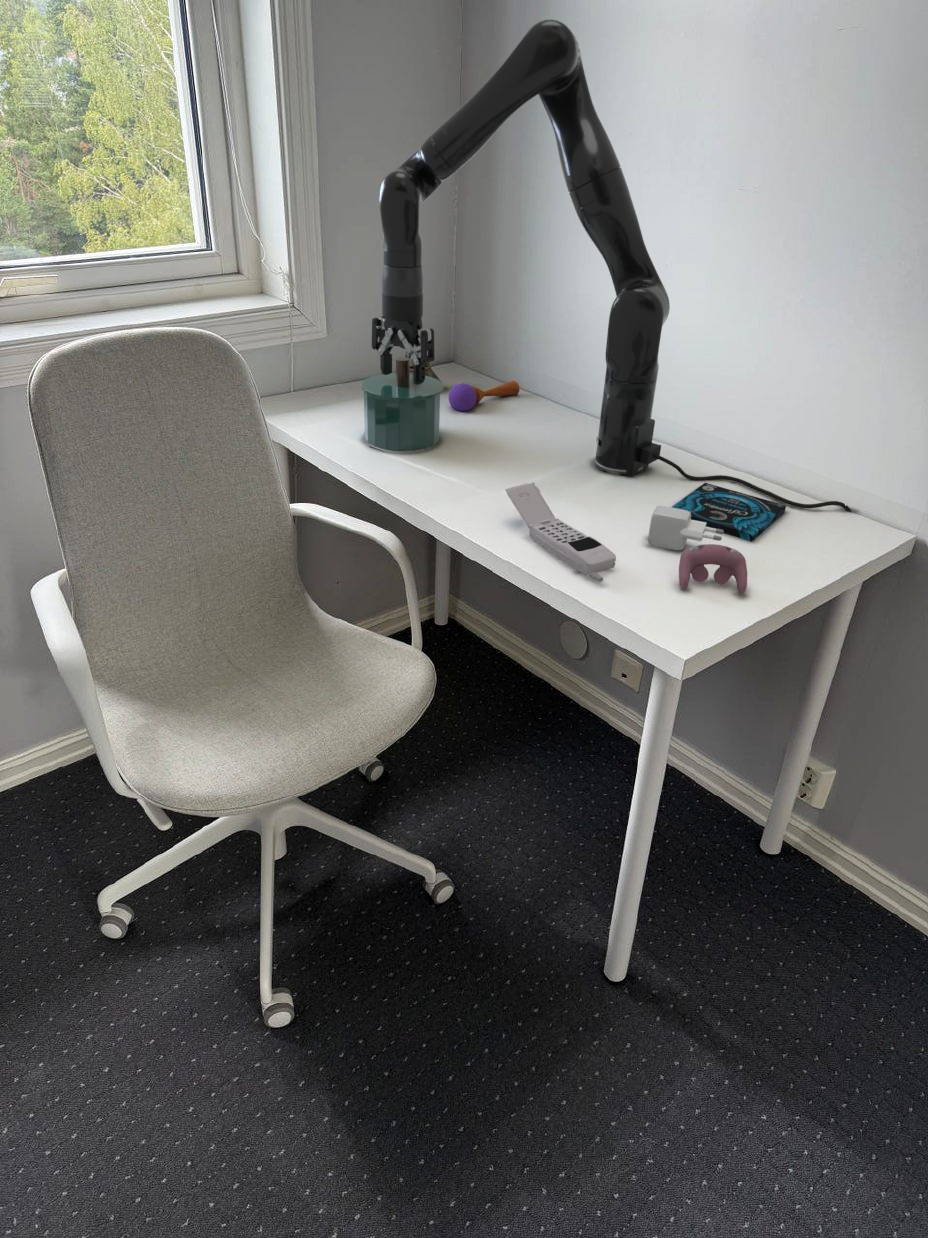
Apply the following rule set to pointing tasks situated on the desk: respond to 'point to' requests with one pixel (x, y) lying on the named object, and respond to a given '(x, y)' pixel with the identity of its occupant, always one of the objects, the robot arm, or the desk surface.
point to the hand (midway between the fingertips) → (402, 378)
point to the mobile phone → (560, 534)
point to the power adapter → (677, 528)
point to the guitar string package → (731, 511)
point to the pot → (401, 423)
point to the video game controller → (716, 555)
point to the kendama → (477, 394)
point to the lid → (401, 385)
